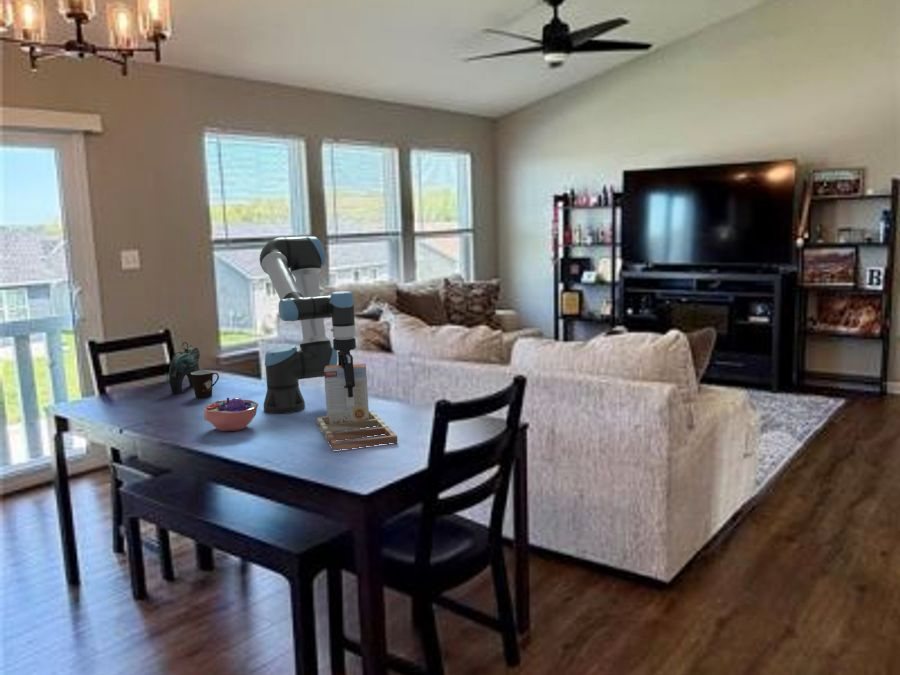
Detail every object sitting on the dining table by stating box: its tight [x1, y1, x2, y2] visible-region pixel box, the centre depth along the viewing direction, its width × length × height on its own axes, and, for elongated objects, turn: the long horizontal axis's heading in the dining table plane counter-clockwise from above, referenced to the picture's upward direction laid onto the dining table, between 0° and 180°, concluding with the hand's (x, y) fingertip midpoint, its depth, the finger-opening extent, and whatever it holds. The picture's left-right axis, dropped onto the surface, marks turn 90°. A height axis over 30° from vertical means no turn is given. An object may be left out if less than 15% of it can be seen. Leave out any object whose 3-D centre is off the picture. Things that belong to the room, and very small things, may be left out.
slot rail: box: [316, 410, 398, 451], centre depth 243 cm, size 33×20×2 cm, turn 19°
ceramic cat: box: [168, 341, 201, 395], centre depth 315 cm, size 20×6×20 cm, turn 169°
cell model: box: [202, 397, 259, 432], centre depth 252 cm, size 17×20×11 cm
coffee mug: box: [191, 369, 220, 399], centre depth 301 cm, size 12×9×10 cm
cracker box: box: [324, 363, 370, 425], centre depth 251 cm, size 14×6×21 cm, turn 94°
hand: (347, 402), depth 251 cm, fingers open, 9 cm apart
